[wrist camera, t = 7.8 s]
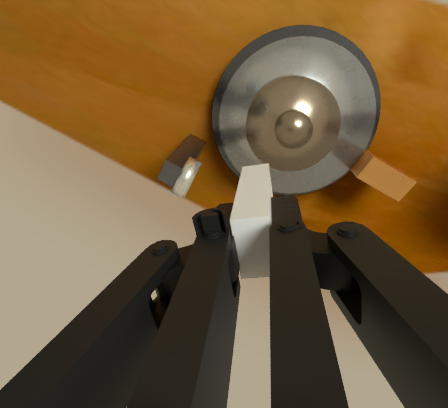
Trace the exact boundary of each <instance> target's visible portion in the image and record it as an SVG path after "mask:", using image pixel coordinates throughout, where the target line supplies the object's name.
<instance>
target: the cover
mask: <svg viewBox="0 0 448 408" xmlns="http://www.w3.org/2000/svg"><path fill="white" fill-rule="evenodd" d="M340 127H341V113H340V109H339V106H338V103H337V101H336V99H335V97H334V95H333V94H332V93H331V92H330V90H329V89H327V88H326V87H325V86H324V85H323V84H321V83H319V82H317V81H316V80H313V79H310V78H307V77H304V76H300V75H284V76H280V77H277V78H275V79H272V80H271V81H269V82H267V83H266V84H265V85H263V86H262V87H261V88H260V89H259V90H258V92H257V93H256V94H255V96H254V97H253V99H252V101H251V103H250V106H249V110H248V114H247V119H246V137H247V141H248V144H249V146H250V148H251V150H252V152H253V153H254V155H255V156H256V157H257V158H258V159H259V160H260V161H261V162H262V163H264V164H266V163H269V167H271V168H273V169H276V170H280V171H289V172H290V171H299V170H303V169H306V168H309V167H311V166H313V165H315V164H317V163H318V162H319V161H321V160H322V159H323V158H324V157H325V156H326V155H327V154H328V153H329V152H330V151H331V149H332V148H333V146H334V145H335V143H336V141H337V138H338V135H339V132H340Z"/></svg>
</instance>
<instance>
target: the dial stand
mask: <svg viewBox="0 0 448 408" xmlns="http://www.w3.org/2000/svg"><path fill="white" fill-rule="evenodd" d="M205 143H206V142H204V141H202V140H201V139H199V138H197V137H195V136H193V135H192V134H190V135H189V136H188V137H187V138H186V139H185V140H184V141H183V142H182V144H181V145H180V146H179V147H178V148H177V149H176V150H175V151H174V152H173V153H172V154H171V155H170V156H169V157H168V158H167V159H166V161H165V163H164V165H163V167H162V170H161V172H160V174H159V176H158V178H157V179H158V180H160V181H162V182H164V183H166V184H168V185H169V186H171V187H173V189H172V193H174V194H176V195H178V196H180V197H182V198H184V197H185V195H186V193H187V191H188V189H189V188H190V186H191V184H192V182H193V180H194V178H195V176H196V174H197V172H198V170H199V168H200V166H201V164H202V163H201V162H199V161H197V159H198V157H199V155H200V153H201V151H202V149H203V147H204V145H205Z"/></svg>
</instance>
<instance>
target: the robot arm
mask: <svg viewBox="0 0 448 408" xmlns="http://www.w3.org/2000/svg"><path fill="white" fill-rule="evenodd" d="M192 219H193V223H194V227H195V231H196V235H197V237H196V239H195V242H194V244H192V245H189V246H186V247H182V248H179V249H178V247H177V243H175V242H174V241H172V240H161V241H158V242H156V243H154V244H152V245H150V246H149V247H148V248H146V249H145V250H144V251H143V252H142V253H141V254H140V255H139V256H138V257H137V258H136V259H135V260H134V261H133V262H132V263H131V264H130V265H129V266H128V267H127V268H126V269H125V270H123V271H122V273H120V274H119V275H118V276H117V277H116V278H115V279H114V280H113V281H112V282H111V283H110V284H109V285H108V286H107V287H106V288H105V289H104V290H103V291H102V292H101V293H100V294H99V295H98V296H97V297H96V298H95V299H94V300H93V301H92V302H91V303H90V304H89V305H88V306H86V307H85V309H83V310H82V311H81V312H80V313H79V314H78V315H77V316H76V317H75V318H74V319H73V320H72V321H71V322H70V323H69V324H68V325H67V326H66V327H65V328H64V329H63V330H62V331H61V332H60V333H59V334H58V335H57V336H56V337H55V338H53V339H52V340H51V341H50V342H49V343H48V344H47V345H46V346H45V347H44V348H43V349H42V350H41V351H40V352H39V353H38V354H37V355H36V356H35V357H34V358H33V359H32V360H31V361H30V362H29V363H28V364H27V365H26V366H25V367H24V368H23V369H22V370H21V371H19V373H17V375H15V376H14V377H13V379H11V380H10V381H9V382H8V383H7V384H6V385H5V386H4V387H3V388H2V389H1V390H0V408H126V407H127V408H226V407H227V399H228V390H229V382H230V373H231V364H232V356H233V347H234V338H235V329H236V321H237V312H238V304H239V295H240V282H239V277H238V275H239V270H240V275H241V278H258V277H270V343H271V344H270V346H271V347H270V348H271V349H270V350H271V408H349V407H348V403H347V398H346V395H345V390H344V386H343V382H342V378H341V373H340V369H339V365H338V361H337V357H336V353H335V348H334V345H333V340H332V336H331V331H330V327H329V323H328V319H327V315H326V310H325V307H324V302H323V298H322V294H321V290H320V288H321V289H327V290H330V293H331V296H332V298H333V299H334V301H335V302H336V303H337V305H338V307H339V308H340V309H341V311H342V313H343V314H344V316H345V317H346V319H347V320H348V322H349V323H350V325H351V326H352V328H353V329H354V331H355V332H356V334H357V335H358V337H359V339H360V340H361V342H362V343H363V345H364V346H365V348H366V349H367V351H368V352H369V354H370V355H371V357H372V358H373V360H374V361H375V363H376V364H377V366H378V368H379V369H380V370H381V372H382V374H383V375H384V377H385V378H386V380H387V381H388V382H389V384H390V386H391V387H392V389H393V390H394V392H395V393H396V395H397V396H398V398H399V400H400V401H401V402H402V404H403V406H404V407H405V408H448V294H447V293H446V292H444V291H443V290H442V289H441V288H440V287H438V286H437V285H436V284H435V283H434V282H432V281H431V280H430V279H429V278H427V277H426V276H425V275H424V274H423V273H421V272H420V271H419V270H418V269H417V268H415V267H414V266H413V265H412V264H411V263H409V262H408V261H407V260H406V259H405V258H403V257H402V256H401V255H400V254H398V253H397V252H396V251H395V250H394V249H392V248H391V247H390V246H389V245H388V244H386V243H385V242H384V241H383V240H381V239H380V238H379V237H378V236H377V235H375V234H374V233H373V232H372V231H371V230H369V229H368V228H367V227H365V226H364V225H362V224H359V223H355V222H340V223H336V224H333V225H331V226H330V227H329V228H328V230H327V233H319V232H314V231H311V230H309V229H307V228H306V226H305V224H304V223H303V221H302V217H301V213H300V209H299V204H298V200H297V198H295V197H294V196H293V195H287V196H278V197H273V193H272V185H271V177H270V170H269V163H266V164H259V165H252V166H245V167H242V171H241V175H240V179H239V183H238V188H237V192H236V196H235V200H234V203H225V204H220V205H218V206H217V207H216V208H211V209H206V210H203V211H200V212H199V213H197V214H195V215H194V216H193V217H192ZM154 290H156V293H157V297H156V298H155V299H154V300H152V298H151V294H152V292H153V291H154ZM127 405H128V406H127Z"/></svg>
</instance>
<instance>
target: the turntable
mask: <svg viewBox="0 0 448 408" xmlns="http://www.w3.org/2000/svg"><path fill="white" fill-rule="evenodd" d="M284 75H300V76H304V77H307V78H310V79H313V80H316V81H317V82H319V83H321V84H323V85H324V86H325V87H326V88H327V89H329V90H330V92H331V93H332V94H333V95H334V97H335V99H336V101H337V103H338V106H339V109H340V113H341V127H340V132H339V135H338V138H337V141H336V143H335V145H334V146H333V148H332V149H331V151H330V152H329V153H328V154H327V155H326V156H325V157H324V158H323V159H322V160H321V161H319V162H318V163H317V164H315V165H313V166H311V167H309V168H306V169H303V170H299V171H290V172H289V171H280V170H276V169H273V168H271V167H269V170H270V177H271V185H272V191H274V192H279V193H290V194H291V193H303V192H309V191H312V190H316V189H319V188H321V187H323V186H326V185H328V184H330V183H331V182H333V181H335V180H337V179H338V178H339V177H341V176H342V175H343V174H345V173H346V172H347V171H348V170H349V169H350V170H351V172H352V173H353V174H354V175H355V176H356V178H358V179H360V180H362V181H363V182H365V183H367V184H369V185H370V186H372V187H374V188H376V189H377V190H379V191H381V192H383V193H384V194H386V195H388V196H390V197H391V198H393V199H395V200H397V201H398V202H399V201H400V200H401V199H402V198H403V197H404V196H405V195H406V193H407V192H408V191H409V190H410V189H411V188H412V187H413V186H414V185H415V184H416V183H417V182H416V181H415V180H414V179H412V178H411V177H410V176H409V175H407V174H406V173H405V172H403V171H402V170H400V169H398V168H397V167H395V166H393V165H391V164H390V163H388V162H386V161H385V160H383V159H381V158H379V157H378V156H376V155H374V154H373V153H371V152H369V151H368V150H366V149H365V148H366V146H367V144H368V142H369V140H370V137H371V135H372V132H373V128H374V124H375V117H376V99H375V93H374V88H373V85H372V82H371V79H370V77H369V75H368V73H367V71H366V70H365V68H364V67H363V65H362V64H361V63H360V61H359V60H358V59H357V58H356V57H355V56H354V55H353V54H352V53H351V52H349V51H348V50H347V49H345V48H344V47H342V46H340V45H338V44H337V43H335V42H332V41H329V40H326V39H323V38H318V37H312V36H298V37H290V38H285V39H282V40H278V41H276V42H273V43H271V44H269V45H266V46H265V47H263V48H261V49H260V50H258V51H257V52H255V53H254V54H253V55H251V56H250V57H249V58H248V59H247V60H246V61H245V62H244V63H243V64H242V65H241V66H240V67H239V68H238V70H237V71H236V72H235V74H234V75H233V77H232V78H231V80H230V82H229V84H228V85H227V88H226V90H225V93H224V95H223V99H222V102H221V107H220V114H219V129H220V136H221V140H222V144H223V147H224V149H225V152H226V154H227V156H228V158H229V160H230V161H231V163H232V164H233V165H234V167H235V168H236V169H237V170H238V171H239V172H240V173H241V171H242V167H245V166H252V165H259V164H264V163H262V162H261V161H260V160H259V159H258V158H257V157H256V156H255V155H254V153H253V152H252V150H251V148H250V146H249V144H248V141H247V137H246V119H247V114H248V110H249V106H250V103H251V101H252V99H253V97H254V96H255V94H256V93H257V92H258V90H259V89H260V88H261V87H262V86H263V85H265V84H266V83H267V82H269V81H271V80H272V79H275V78H277V77H280V76H284Z"/></svg>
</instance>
